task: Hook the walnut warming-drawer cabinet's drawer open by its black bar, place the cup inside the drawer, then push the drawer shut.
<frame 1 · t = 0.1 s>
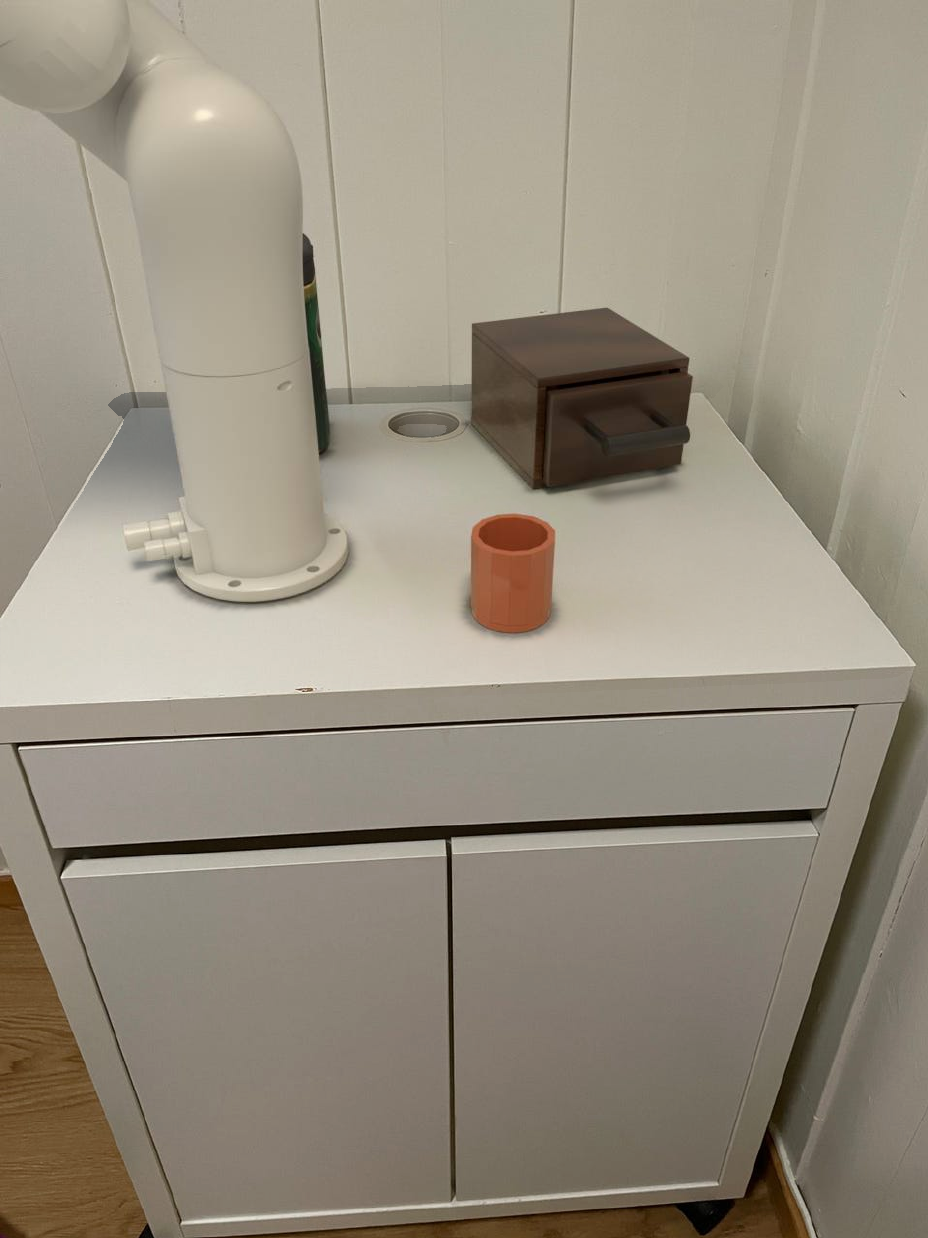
cabinet: (569, 443, 89), on the table
drawer: (596, 412, 83), point 5 cm above the table, slide at 0.5 cm
cup: (510, 610, 67), on the table
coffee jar: (287, 443, 90), on the table
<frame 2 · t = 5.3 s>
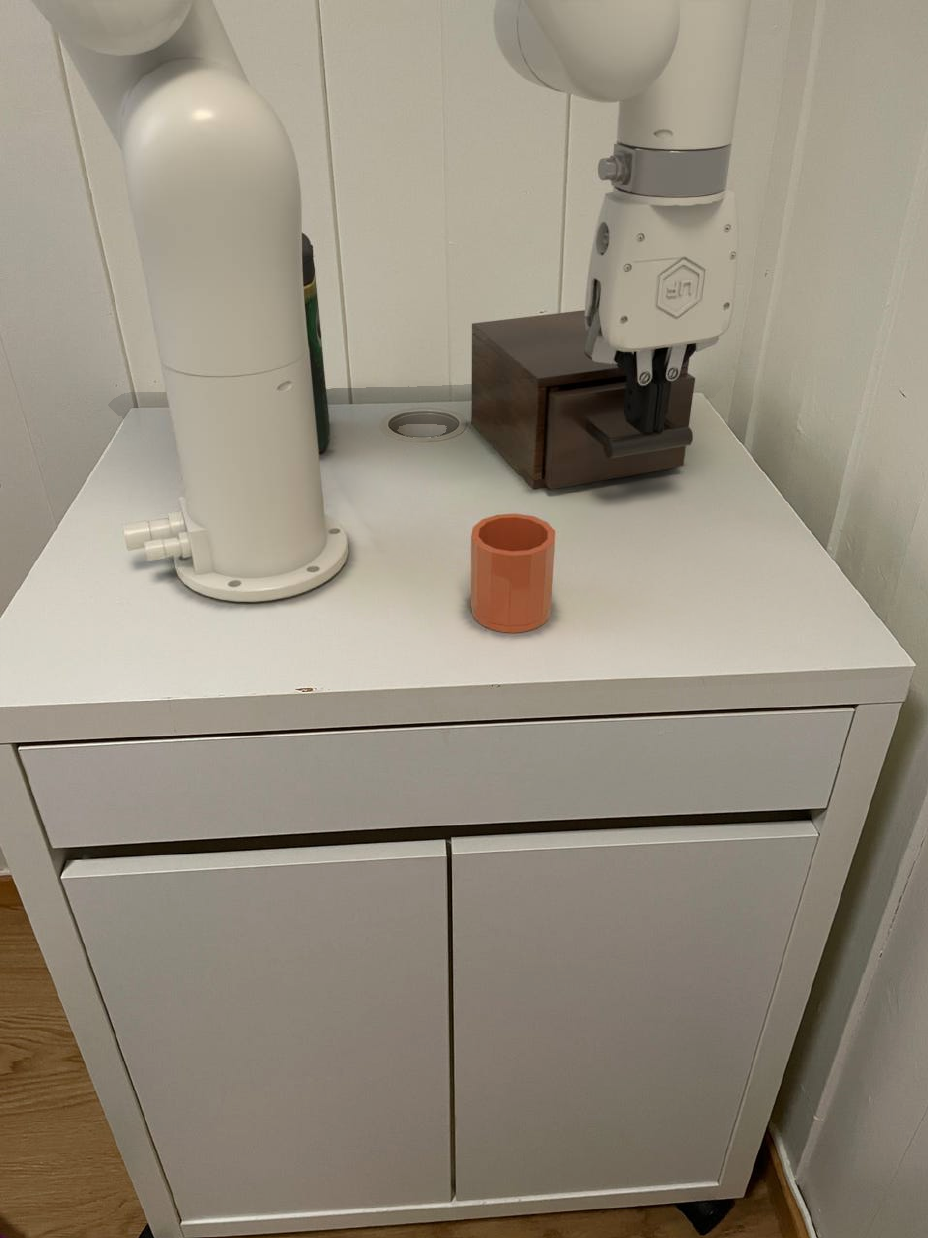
hand: (644, 426, 76), 7 cm above the table, tool pointing down, fingers closed
drawer: (598, 413, 82), point 5 cm above the table, slide at 0.9 cm, touching gripper
everything else where it was.
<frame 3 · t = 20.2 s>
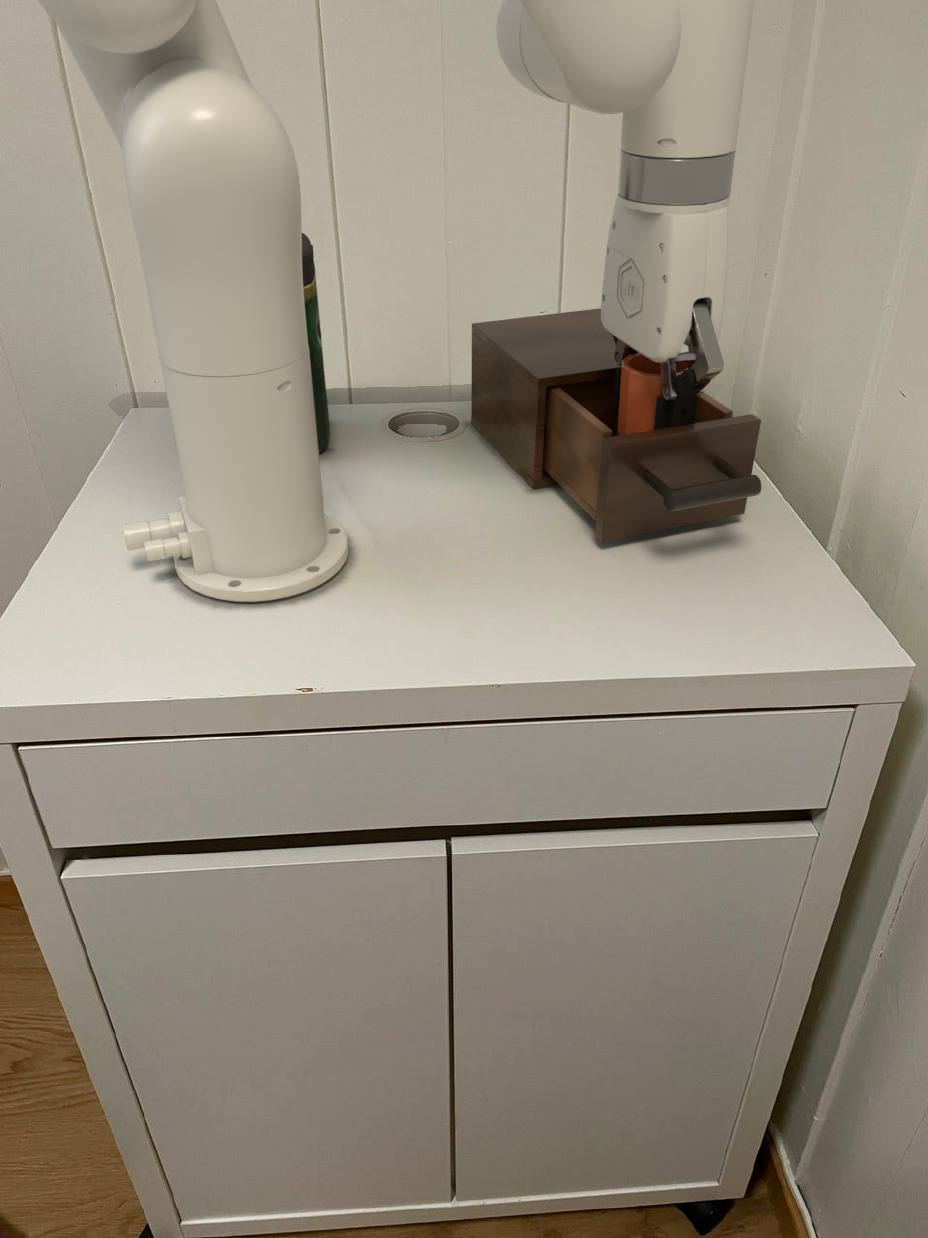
hand: (652, 426, 76), 6 cm above the table, tool pointing down, fingers closed on cup, 5 cm apart
drawer: (651, 457, 75), point 5 cm above the table, slide at 10.0 cm
cup: (651, 437, 77), point 6 cm above the table, touching gripper
everything else where it was.
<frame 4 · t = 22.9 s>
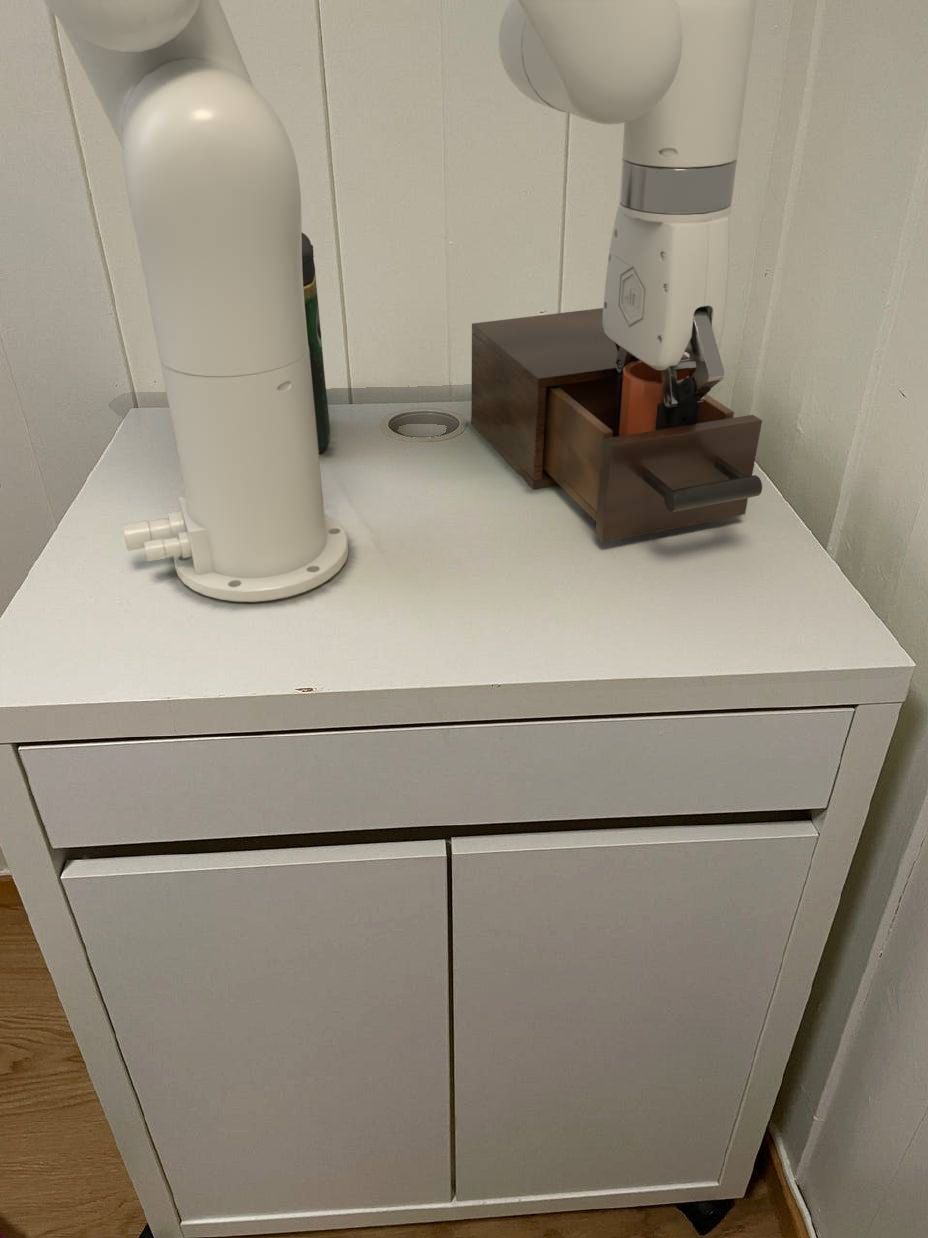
hand: (653, 433, 76), 6 cm above the table, tool pointing down, fingers closed on cup, 5 cm apart
cup: (652, 444, 77), point 5 cm above the table, touching gripper
everything else where it was.
when the fingers open (6 cm above the table, at t = 25.3 s): cup drops 3 cm, resting on drawer.
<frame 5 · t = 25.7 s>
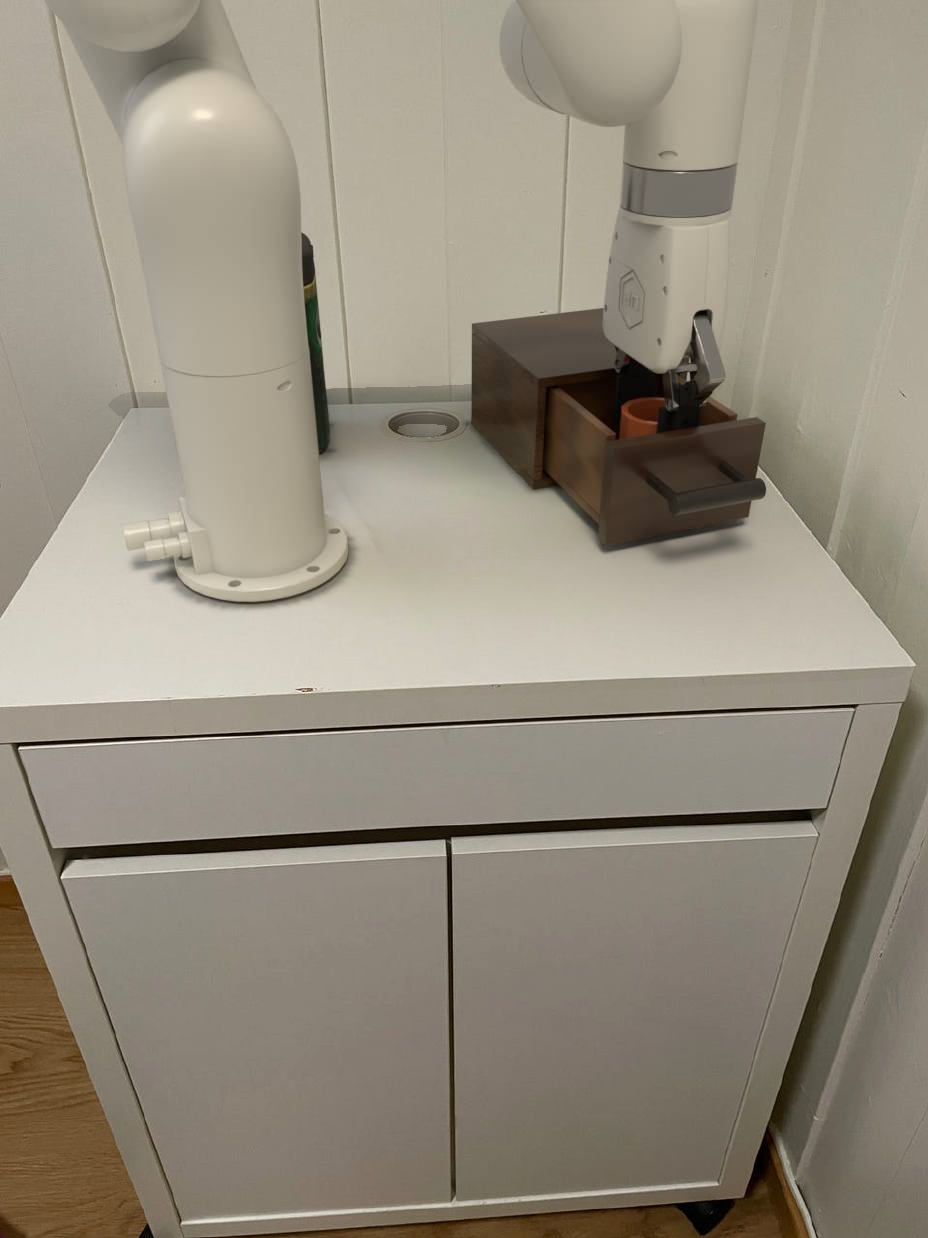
hand: (653, 435, 76), 6 cm above the table, tool pointing down, fingers open, 6 cm apart
drawer: (655, 460, 75), point 5 cm above the table, slide at 10.6 cm, touching gripper, cup
cup: (648, 480, 78), point 2 cm above the table, touching drawer
everything else where it was.
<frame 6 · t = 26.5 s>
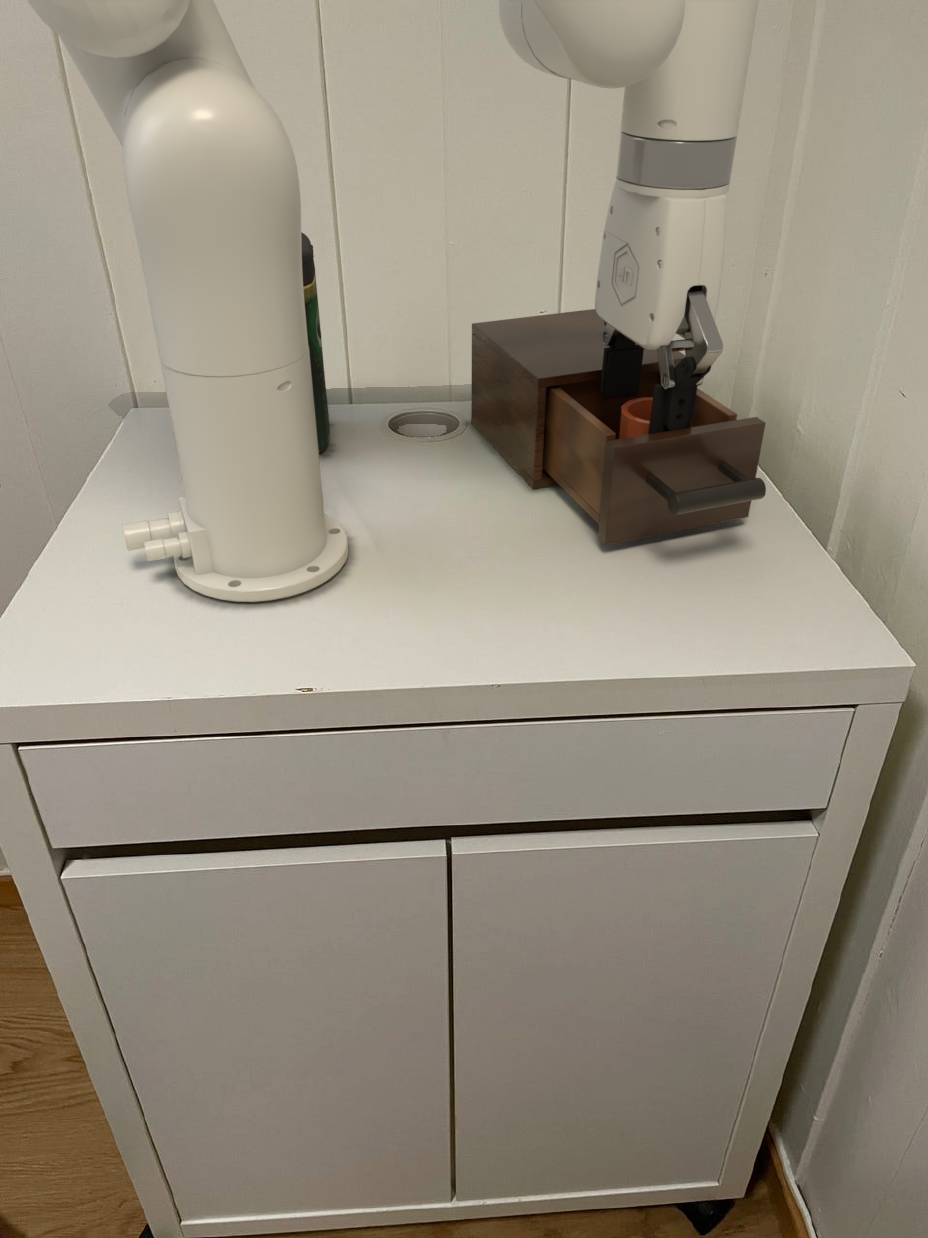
hand: (642, 413, 75), 8 cm above the table, tool pointing down, fingers open, 7 cm apart
drawer: (655, 460, 75), point 5 cm above the table, slide at 10.5 cm, touching cup
everything else where it was.
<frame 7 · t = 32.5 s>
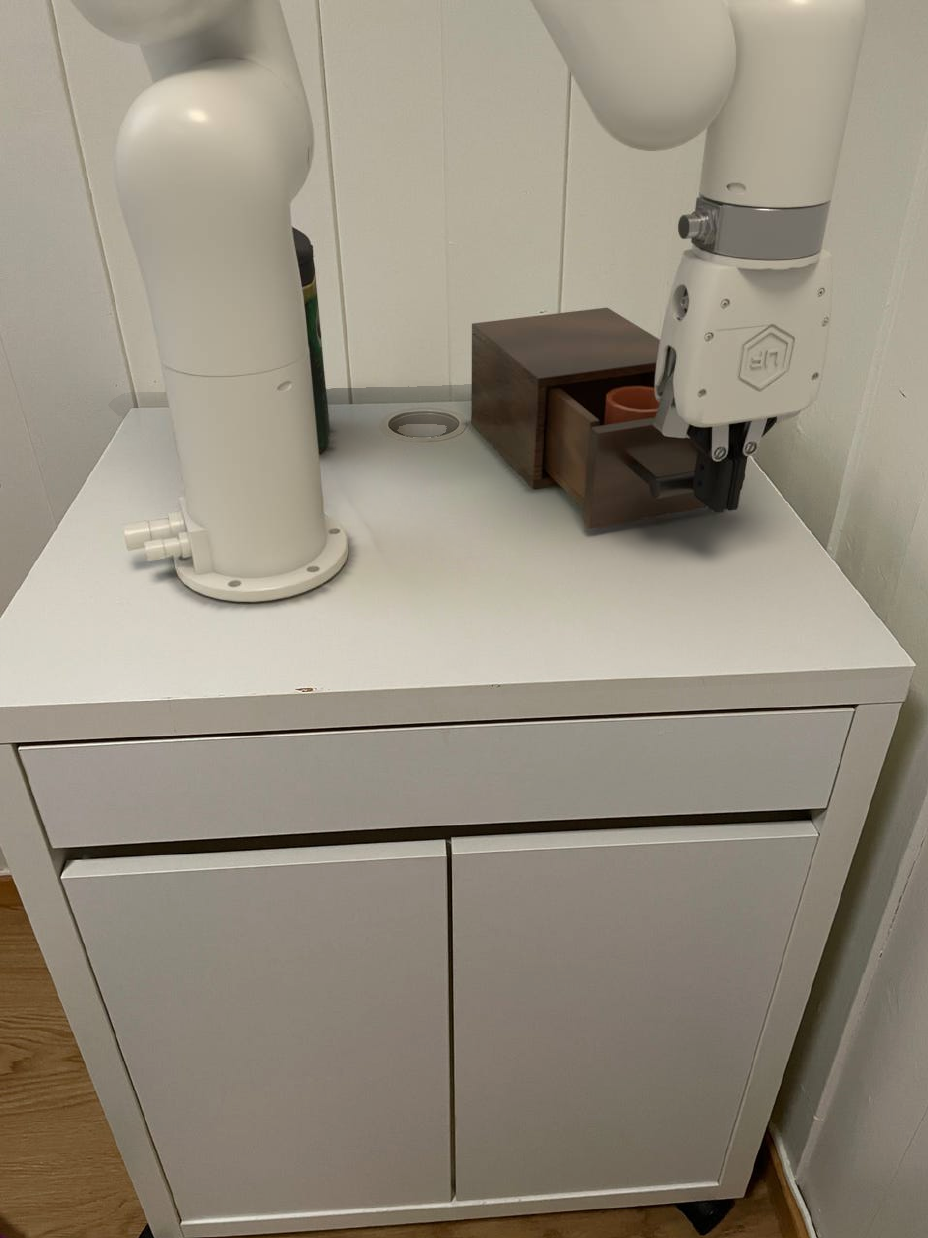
hand: (714, 502, 69), 5 cm above the table, tool pointing down, fingers closed
drawer: (639, 447, 77), point 5 cm above the table, slide at 8.0 cm, touching gripper, cup
cup: (633, 467, 80), point 2 cm above the table, touching drawer
everything else where it was.
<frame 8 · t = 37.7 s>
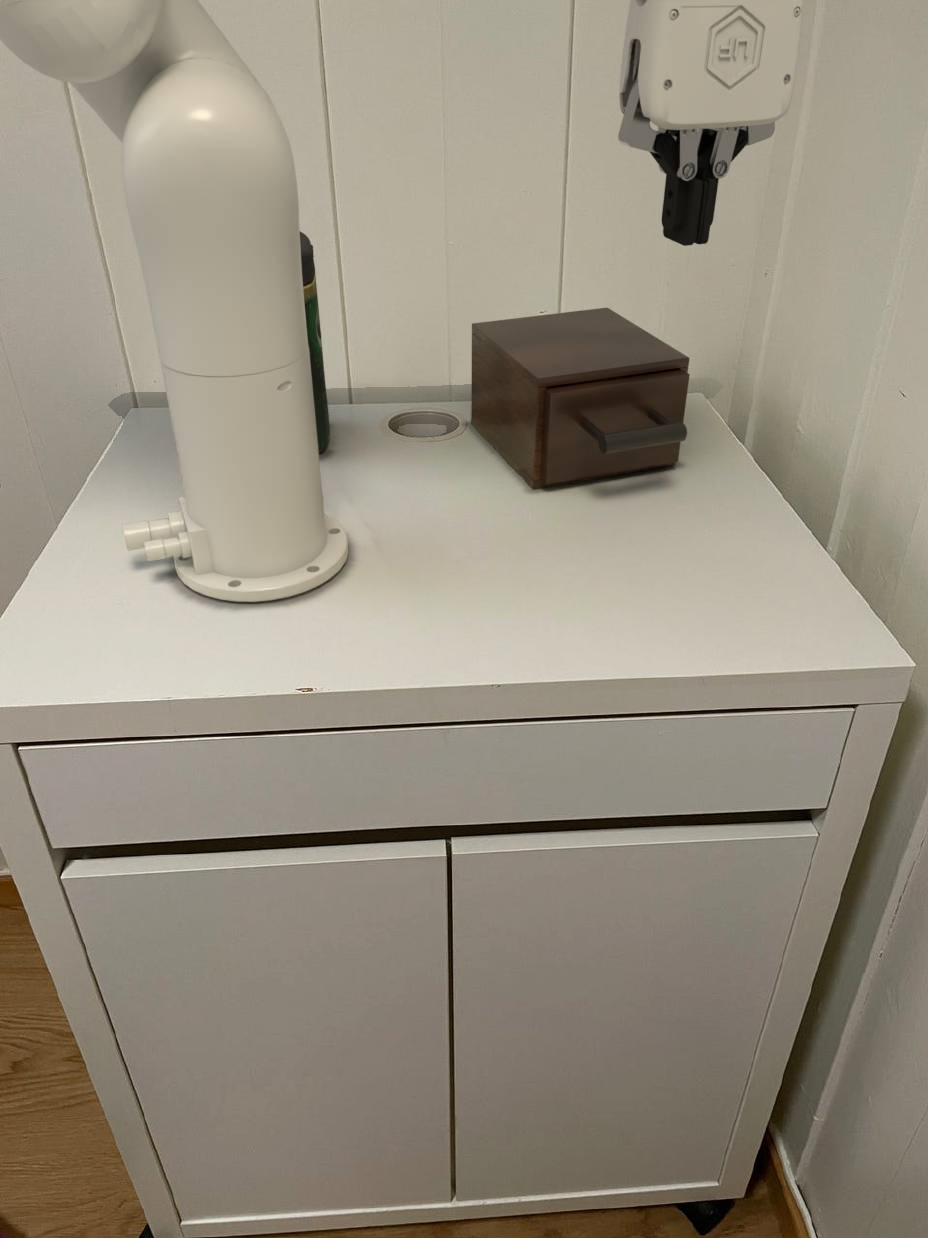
hand: (684, 239, 66), 21 cm above the table, tool pointing down, fingers closed
drawer: (593, 410, 83), point 5 cm above the table, slide at 0.0 cm, touching cup
cup: (589, 430, 86), point 2 cm above the table, touching drawer
everything else where it was.
at the end: drawer pulled out 10.6 cm at the most during the clip, back to where it started at the end; cup inside the target area in the cabinet (2.3 cm from its centre), point 2.0 cm above the cabinet's base; drawer slide at 0.0 cm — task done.
